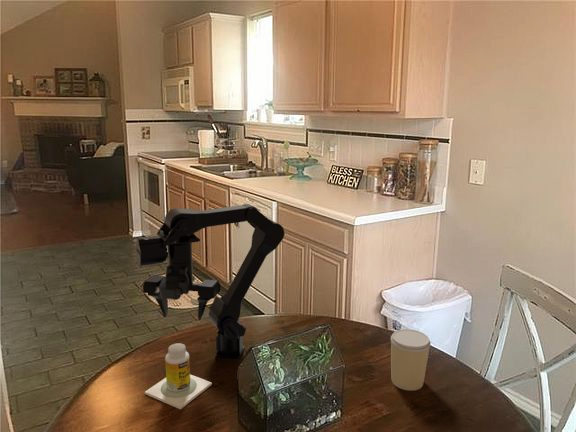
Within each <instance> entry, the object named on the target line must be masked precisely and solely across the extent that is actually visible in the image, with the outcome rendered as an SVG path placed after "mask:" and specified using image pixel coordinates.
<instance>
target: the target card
mask: <svg viewBox="0 0 576 432" xmlns="http://www.w3.org/2000/svg"><path fill="white" fill-rule="evenodd" d="M212 384H213V383H212V381H208V380H207V379H203V378H201V377H198V376H195V375H192V374H191V373H190V385H189V387H188V388H187V389H185V390H183V391H180V392H174V391H170V390H169V389H168V388H167V383H166V377H164V378H163V379H162V380H160V381H159V382H157V383H156V384H154V385H153V386H151V387H150V388H149V389H147V390H146V391H144V394H145V395H147V396H148V397H150V398H154V399H155V400H158V401H160V402H162V403H165V404H167V405H169V406H172V407H174V408H175V409H178V410H182V409H183V408H184V407H186V406H187V405H188V404H190V402H192V401H193V400H194V399H196V398H197V397H198V396H199V395H201V394H202V393H203V392H205V391H206V390H207V389H208V388H209V387H211V386H212Z"/></svg>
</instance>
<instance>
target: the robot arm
mask: <svg viewBox="0 0 576 432" xmlns="http://www.w3.org/2000/svg"><path fill="white" fill-rule="evenodd" d="M244 222H247V224H248V225H250V226H251V227H253V229H254V230H253V232H252V235H251V245H250V248H249V250H248V252H247V253H246V256H245V258H244V259H243V262H242V263H241V265H240V267H239V268H238V271H237V272H236V274H235V276H234V278H233V280H232V281H231V283H230V285H229V287H228V289H227V291H226V292H225V294H223V295H222V296H221V297H220V296H218V294H219V293H220V292H221V283H220V282H219V280H215V279H204V280H203V281H202V282H201V283H196V282H195V283H194V281H195V279H196V278H195V275H194V272H193V271H194V270H193V269H194V268H193V267H194V265H195V260H193V247H192V246H193V244H192V243H199V242H200V241H201V239H200V237H198V236H197V235H196V234H195V233H197V232H199V231H201V230H203V229H207V228H209V227H210V228H211V227H216V226H223V225H229V224H230V225H231V224H236V223H244ZM284 237H285V230H284V227H283V226H282V225H281V224H280V223H277V221H274V220H272V219H270V218H269V217H266V215H265V214H263V213H262V212H261V211H259V209H258V208H257V207H256V206H253V205H251V204H249V203H244V204H241V205H233V206H232V205H231V206H226V207H225V206H224V207H217V208H210V209H209V208H208V209H203V210H200V209H192V208H177V207H176V208H175V207H174V208H171V209H169V210H168V212H166V214H165V216H164V222H163V223H162V225H161V227H160V228H159V229H158V231H157V232H156V236H139V237H137V238H136V244H135V250H134V253H135V259H136V263H137V266H138V267H146V266H151V265H158V264H159V265H161V264H163V263H164V262H166V261H167V259H168V265H167V266H166V269H165V270H166V273H165V276H164V275H155V274H152V275H151V276H150V277H148V278H147V279H145V280H144V281H143V282H142V284H141V290H142V293H144V294H147V296H149V297H152V298H153V299H155V301H156V302H157V305H158V306H159V308H160V310H161V313H162V315H163V317H165V318H166V317H167V316H168V313H169V311H168V310H169V302H168V300H174V301H176V300H179V299H180V298H181V297H182V296H183V295H188V294H189V292H196V293H197V296H198V297H197V298H196V301H197V303H198V306H197V308H198V309H197V317H198V318H197V319H198V321H201V320H202V318H203V316H204V313H205V310H206V308H207V304H208V302H209V301H210V300H212V299H213V302H212V303H211V304H210V306H209V307H208V310H209V312H208V319H209V321H210V322H211V323H212V324H213V325H214V326H215V327H216V329H217V330H218V331H217V335H216V336H215V350H216V353H215V356H216V357H218V358H219V357H220V358H231V359H240V357H241V355H242V353H243V352H244V350H245V348H246V347H245V344H243V343H244V341H243V340H244V339H243V338H244V336H245V334H246V330H247V328H246V327H245V326H244V325H243V324H242V323H241V322H240V321H239V320H240V317H241V311H242V303H243V300H244V299H245V297H246V295H247V293H248V291H249V289H250V287H251V286H252V283H253V282H254V280H255V278H256V276H257V274H258V273H259V271H260V268H261V267H262V265H263V264H264V261H265V260H266V259H267V256H268V255H270V253H272V252H274V250H276V249H278V246H279V245H280V244H281V242H282V241H283V240H284Z"/></svg>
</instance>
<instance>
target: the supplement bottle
mask: <svg viewBox="0 0 576 432" xmlns="http://www.w3.org/2000/svg"><path fill="white" fill-rule="evenodd" d="M167 349H168V350H167V351H168V352H167V354H165V357H164V360H165V361H164V362H165V363H164V364H165V378H166V383H167V388H168V389H169V390H170V391H174V392H180V391H183V390H185V389H187V388H188V387H189V385H190V374H191V368H190V367H191V364H190V354H189V352H188V351H187V349H186V345H185V344H183V343H180V342H179V343H178V342H177V343H172V344H171V345H169V347H167Z"/></svg>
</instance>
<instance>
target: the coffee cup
mask: <svg viewBox="0 0 576 432" xmlns="http://www.w3.org/2000/svg"><path fill="white" fill-rule="evenodd" d="M390 344H391V345H390V348H391V349H390V363H391V364H390V369H391V371H390V373H391V374H390V375H391V382H392V384H393V385H394V386H396V387H397V388H398V389H400V390H401V389H402V390H404V391H418V390H420V389H421V388H422V387H423V386H424V381H425V377H426V370H427V365H428V359H429V352H430V347H431V341H430V338H429V336H428V335H426V334H425V333H424V332H422V331H419V330H416V329H410V328H409V329H408V328H404V329H403V328H402V329H398V330H396V331H393V333H392V335H391V336H390Z"/></svg>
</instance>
